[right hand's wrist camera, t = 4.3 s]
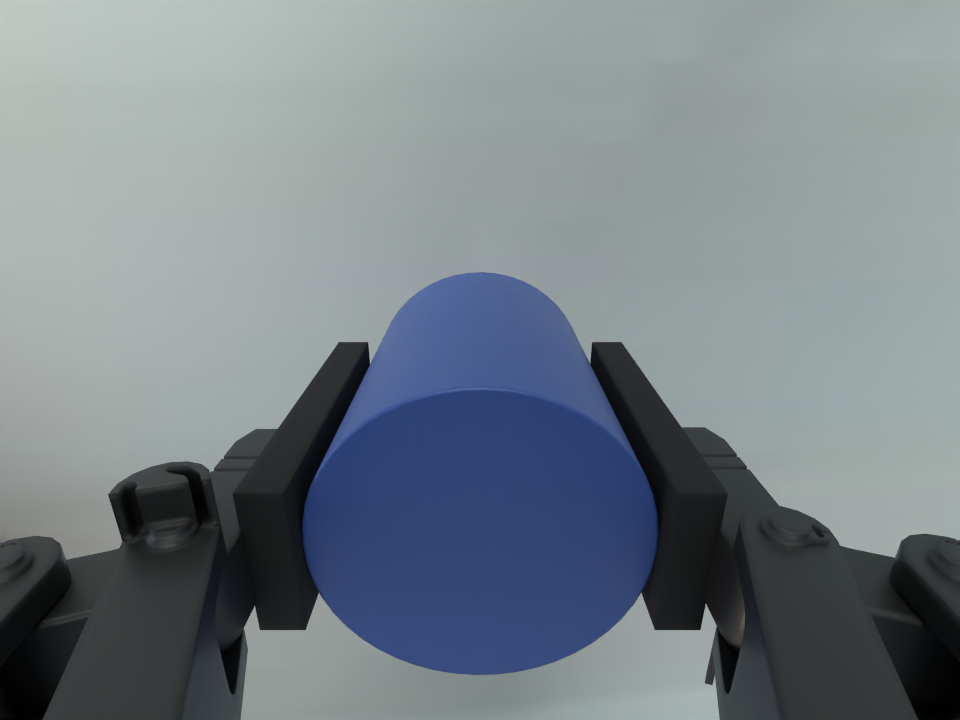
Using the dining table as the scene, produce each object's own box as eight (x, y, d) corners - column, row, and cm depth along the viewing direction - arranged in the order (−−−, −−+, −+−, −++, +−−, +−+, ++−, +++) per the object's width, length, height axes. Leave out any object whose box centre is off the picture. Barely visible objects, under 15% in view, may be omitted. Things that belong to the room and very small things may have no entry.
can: (338, 349, 16) (224, 517, 9) (504, 228, 14) (528, 310, 7) (459, 487, 17) (446, 719, 10) (617, 390, 16) (722, 580, 9)
